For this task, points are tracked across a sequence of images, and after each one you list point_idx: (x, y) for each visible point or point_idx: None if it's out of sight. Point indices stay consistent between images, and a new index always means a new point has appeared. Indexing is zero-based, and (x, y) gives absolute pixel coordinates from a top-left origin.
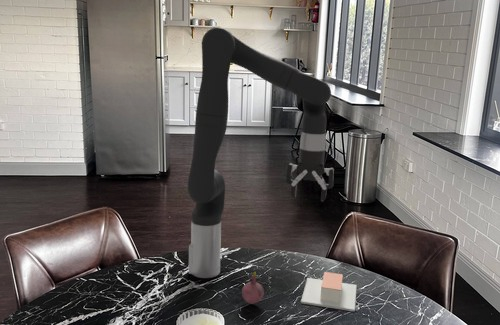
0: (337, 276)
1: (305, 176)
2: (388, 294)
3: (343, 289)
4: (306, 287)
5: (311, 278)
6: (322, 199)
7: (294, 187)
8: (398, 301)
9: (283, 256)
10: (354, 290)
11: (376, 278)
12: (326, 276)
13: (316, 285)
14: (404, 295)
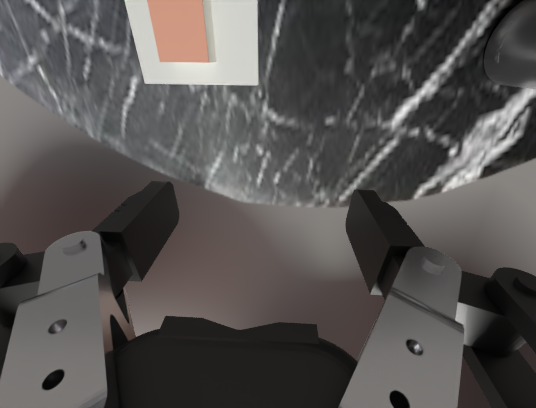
0: (169, 41)
1: (308, 393)
2: (72, 65)
3: None
4: (253, 23)
5: (248, 84)
6: (150, 184)
7: (400, 238)
8: (38, 33)
9: (320, 184)
10: (140, 49)
11: (122, 139)
12: (197, 30)
13: (231, 46)
14: (41, 72)
